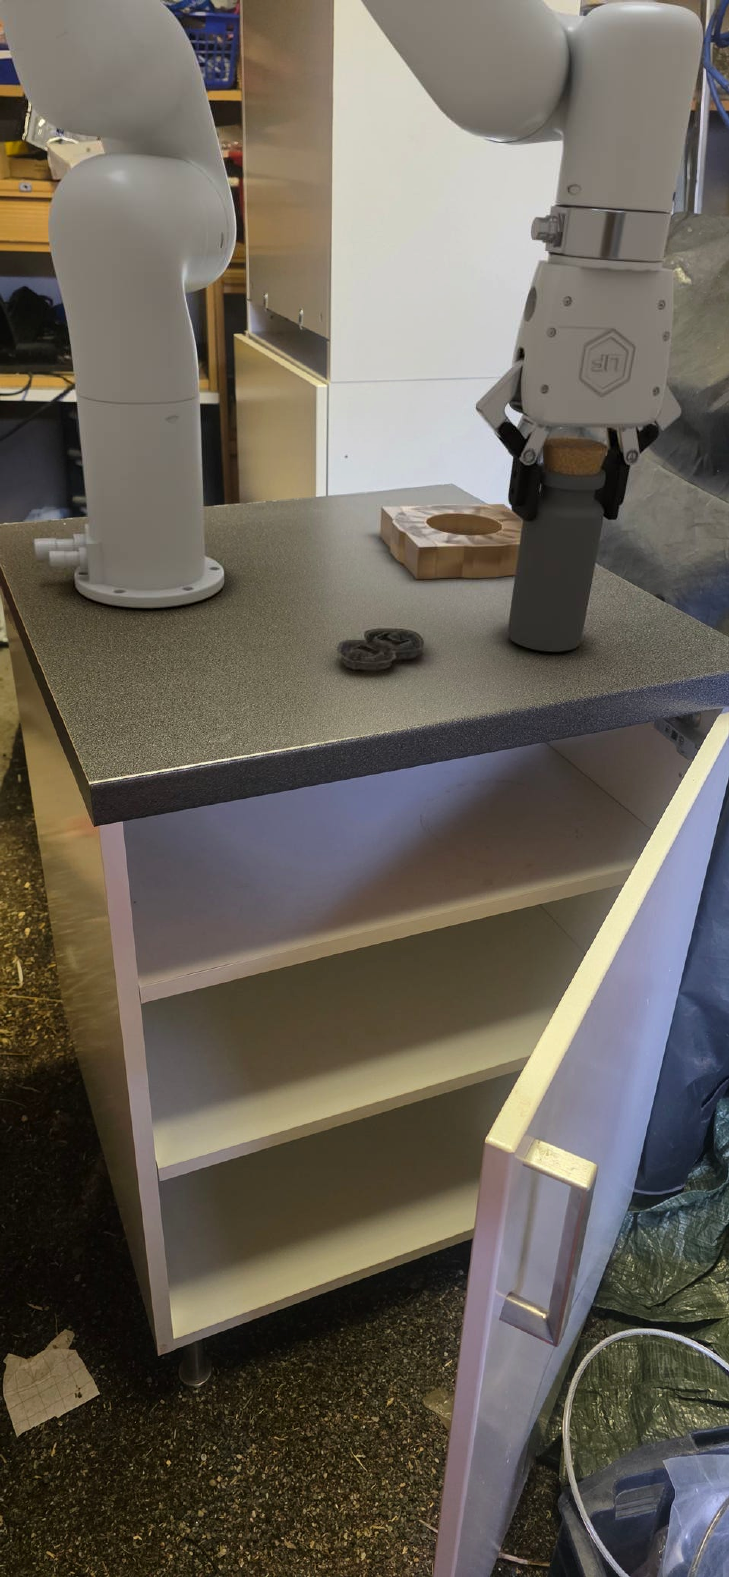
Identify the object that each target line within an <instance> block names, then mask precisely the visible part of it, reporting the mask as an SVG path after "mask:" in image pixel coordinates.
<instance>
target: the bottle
mask: <svg viewBox="0 0 729 1577" xmlns="http://www.w3.org/2000/svg"><path fill="white" fill-rule="evenodd" d="M607 450H608V447H607V444H606V443H605V444H604V443H603V442H601V441H598V440H595V439H590V438H585V437H584V438H583V437H578V436H577V437H576V436H548V437H547V439H546V441H545V443H544V445H543V447H542V449H541V451H542V452H541V453H542V462H540V463H539V462H538V464H539V465H540V466H541V467H542V478H541V485H540V491H539V498H538V505H537V512H536V518H535V519H533V521H524V520H523V523H522V530H521V537H520V544H519V551H518V559H517V566H516V573H515V575H514V579H513V580H514V581H513V586H512V596H511V602H510V610H509V618H508V626H507V635H508V637H509V639H510V640H511V641H512V642H514V643H515V644H517V645H519V646H522V647H524V648H526V649H531V650H536V651H541V652H550V653H552V652H553V653H554V652H555V653H557V652H558V653H559V652H566V651H571V650H574V649H576V648H578V647H579V646H580V644H581V642H582V637H583V632H584V629H585V628H584V627H585V623H586V617H587V612H588V608H589V603H590V602H589V601H590V597H591V596H590V595H591V589H592V584H593V579H594V574H595V568H596V562H597V557H598V551H599V546H600V539H601V534H602V529H603V522H604V517H603V516H604V508H603V506H602V505H601V504H600V503H599V502H598V501H597V500H596V499H594V494H595V490H597V489H600V488H602V487H603V486H604V483H605V477H606V473H605V471H604V470H602V469H600V468H601V466H602V463H603V461H604V458H605V455H607Z"/></svg>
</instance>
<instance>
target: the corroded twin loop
mask: <svg viewBox="0 0 729 1577" xmlns="http://www.w3.org/2000/svg"><path fill="white" fill-rule="evenodd" d="M424 645H425V641H424V638H423V637H422V636H421V635H420V633H418V632H416V631H413V630H411V629H406V628H398V627H397V628H394V627H393V628H390V627H389V628H388V627H379V628H372V629H367V630H365V631H364V633H363V639H345V640H342V641H340V642H338V644H337V647H336V652H337V654H339V655H340V656H341V661H342V663H343V664H344V665H345V666H346V667H347V668H349V669H351V670H366V671H367V670H368V671H369V670H385V669H388V668H391V665H392V661H393V660H406V659H408V660H409V659H414V658H416V657H418V655H419V654H420V652H421V650H422V649H423V648H424Z"/></svg>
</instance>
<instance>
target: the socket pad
mask: <svg viewBox="0 0 729 1577" xmlns="http://www.w3.org/2000/svg"><path fill="white" fill-rule="evenodd" d="M522 523H523V519H522V518H520V517H519V516H518V515H517V514H515V513H514V512H513V511H512V508H509V507H508V506H507V505H505V504H504V503H491V504H487V503H485V504H484V503H483V504H482V503H481V504H459V503H458V504H457V503H447V504H446V503H445V504H444V503H443V504H427V505H426V504H425V505H400V506H396V505H395V506H381V508H380V525H379V526H380V527H379V528H380V529H379V531H380V532H379V537H380V538H381V540H382V541H383V542H384V543H385V544H386V545H387V547H388V548H389V553H390V554H391V555H392V556H393V558H394V559H395V560H396V561H397V562H398V563H400V564H403V565H404V567H405V568H406V569H407V570H408V571H409V572H410V574H411V575H412V576H413V577H414V579H416V580H432V579H433V580H434V579H454V578H455V579H456V578H457V579H459V578H464V579H488V578H502V577H503V578H504V577H506V576H515V573H516V566H517V559H518V551H519V544H520V537H521V530H522Z"/></svg>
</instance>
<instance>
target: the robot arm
mask: <svg viewBox="0 0 729 1577" xmlns="http://www.w3.org/2000/svg"><path fill="white" fill-rule="evenodd" d="M360 1H361V3H362V4H363V6H364V8H365V9H366V11H367V12H368V14H369V15H370V16H371V18H372V19H373V21H374V22H375V24H376V25H377V26H378V27H379V30H381V32H382V33H383V34H384V36H385V37H386V39H387V40H388V41H389V43H390V45H391V46H392V47H393V48H394V50H395V51H396V52H397V54H398V55H399V56H400V58H401V60H402V61H403V63H404V64H405V65H406V66H407V67H408V69H409V70H410V72H411V73H412V75H413V76H414V77H415V79H416V80H417V82H418V83H419V84H420V85H421V87H422V88H423V90H424V91H425V92H426V94H427V95H428V96H429V98H430V99H431V100H432V102H433V103H434V104H435V105H436V106H437V108H438V109H439V110H440V112H441V113H442V114H443V115H444V116H445V117H446V118H447V119H448V120H449V121H450V122H451V123H452V124H453V125H454V126H456V127H457V128H458V129H460V130H461V131H462V132H465V133H466V134H468V135H471V136H473V137H476V138H479V139H483V140H485V141H489V142H492V143H494V144H499V145H505V146H521V145H533V144H539V143H540V144H541V143H549V142H561V148H560V149H561V150H560V156H559V165H558V172H557V178H556V186H555V194H554V202H553V203H554V204H555V205H551V206H550V211H549V214H546V215H545V216H535V217H534V218H533V219H532V221H531V226H530V237H531V240H533V241H539V242H542V243H543V244H545V247H544V251H545V252H547V254H546V260H545V259H543V260H542V259H541V260H540V259H539V260H537V263H536V266H535V269H534V271H533V274H532V277H531V281H530V284H529V286H528V290H527V293H526V297H525V301H524V304H523V308H522V311H521V316H520V321H519V325H518V328H517V334H516V339H515V344H514V349H513V355H512V361H511V365H510V368H508V370H507V371H506V372H505V373H504V374H503V375H502V376H501V377H500V378H499V379H498V380H497V381H496V382H495V383H494V384H493V385H492V387H490V388H489V389H488V390H487V391H486V393H484V394H483V395H482V396H481V398H479V399H478V401H477V402H476V403H475V411H476V412H477V413H478V415H479V416H480V417H481V418H482V420H483V421H484V422H485V423H486V424H487V426H488V427H489V428H490V429H491V430H492V432H493V433H494V435H495V436H496V437H497V439H498V440H499V441H500V443H501V444H502V445H503V447H505V449H506V450H507V452H508V454H509V455H510V456H511V457H512V463H511V471H510V478H509V485H508V494H507V502H508V504H509V505H510V506H511V507H510V509H511V510H512V511H513V512H514V513H515V514H517V515H518V516H519V517H520V518H522V519H523V520H524V521H533V519H535V518H536V512H537V505H538V498H539V492H540V488H541V478H542V467H541V466H540V465H539V463H538V460H539V459H538V458H539V455H540V453H541V451H542V447H543V445H544V443H545V441H546V439H547V438H549V435H550V433H551V432H552V429H553V428H595V429H596V428H598V429H599V428H600V429H601V428H602V429H604V435H605V442H606V446H607V447H608V450H607V453H606V455H605V458H604V461H603V463H602V466H601V468H600V469H602V470H604V471H605V473H606V477H605V483H604V486H603V487H602V488H600V489H597V490H595V494H594V499H596V500H597V501H598V502H599V503H600V504H601V505H602V506H603V508H604V516H603V518H605V519H606V520H608V521H616V520H617V519H618V517H619V511H620V506H621V505H622V504H623V503H624V500H625V497H626V496H625V495H626V490H627V485H628V480H629V475H630V469H631V466H633V465H635V464H637V462H639V460H640V456H641V454H642V453H643V452H644V451H646V449H647V448H649V446H651V445H652V444H653V443H654V442H655V441H656V440H657V439H658V437H659V434H660V433H661V432H662V433H663V432H664V431H665V430H667V428H669V427H670V426H671V425H672V424H673V423H674V422H675V421H677V419H679V417H680V416H681V415H682V408H681V405H680V404H679V402H678V401H677V399H676V397H675V396H674V394H673V392H672V390H671V389H670V387H669V386H668V383H667V377H668V370H669V364H670V363H669V361H670V354H671V345H672V336H673V322H674V270H673V269H669V268H663V261H664V257H665V250H666V245H667V240H668V235H669V229H670V225H671V219H672V212H673V208H674V204H675V198H676V193H677V186H678V183H679V182H678V180H679V176H680V171H681V165H682V159H683V155H684V149H685V144H686V138H687V133H688V128H689V122H690V117H691V111H692V106H693V100H694V95H695V90H696V85H697V80H698V74H699V68H700V63H701V58H702V51H703V45H704V30H703V25H702V21H701V19H700V17H699V16H698V15H697V13H696V12H694V11H693V10H690V9H688V8H686V7H685V6H682V5H681V6H680V5H675V4H669V3H665V2H663V3H662V2H656V1H619V2H610V3H604V4H601V5H599V6H596V7H595V8H593V9H592V10H590V11H589V12H588V13H587V14H586V15H577V14H571V13H564V12H560V11H556V10H553V9H552V8H550V7H549V5H548V4H547V3H546V1H544V0H360ZM0 24H1V28H2V31H3V34H4V38H5V41H6V44H7V47H8V50H9V54H10V57H11V60H12V63H13V67H14V69H15V72H16V75H17V79H18V81H19V85H20V86H21V89H22V92H23V94H24V96H25V97H26V99H27V100H28V103H30V105H31V107H32V108H33V110H34V111H35V112H36V113H37V115H38V116H40V117H41V119H43V120H44V121H45V122H47V123H48V124H50V125H51V126H53V127H54V128H56V129H59V130H62V131H64V132H68V133H70V134H75V135H80V136H84V137H85V136H87V137H93V138H94V137H95V138H99V139H100V143H101V145H102V148H103V153H99V154H96V155H93V156H90V157H88V158H85V159H83V160H82V161H80V162H78V163H76V164H75V165H74V166H72V167H71V168H70V169H69V170H68V171H67V172H66V173H65V175H63V177H62V178H61V179H60V181H59V182H58V184H57V186H56V188H55V189H54V192H53V194H52V198H51V201H50V205H49V210H48V220H47V233H48V234H47V235H48V244H49V249H50V254H51V259H52V264H53V269H54V271H55V276H56V280H57V283H58V284H57V285H58V288H59V291H60V295H61V300H62V303H63V308H64V312H65V318H66V323H67V328H68V335H69V343H70V351H71V359H72V367H73V379H74V380H73V381H74V388H75V390H74V391H75V394H76V408H77V418H78V428H79V438H80V448H81V459H82V471H83V472H82V473H83V481H84V493H85V494H84V495H85V503H86V504H85V505H86V515H87V523H85V524H84V533H73V534H72V537H73V538H58V539H57V538H56V537H50V538H49V537H45V538H44V537H43V538H41V537H40V538H34V539H33V541H34V542H33V543H34V554H35V560H36V562H37V563H43V562H49V567H50V569H62V568H67V567H68V568H69V567H77V568H76V569H75V570H74V575H73V578H74V584H75V588H76V590H77V592H78V593H80V594H81V595H82V596H84V597H85V598H87V599H89V600H92V601H94V602H97V603H101V604H106V605H109V606H115V607H120V608H121V607H122V608H133V609H162V608H163V609H164V608H171V607H178V606H183V605H184V606H185V605H190V604H193V603H197V602H200V601H203V600H205V599H208V598H210V597H212V596H214V595H215V594H217V593H218V592H219V591H220V590H221V589H222V588H223V587H224V584H225V570H224V567H223V566H222V565H221V564H220V563H219V562H218V561H216V560H214V559H213V558H211V557H209V556H207V555H206V541H205V538H206V536H205V511H204V508H205V507H204V483H203V480H204V478H203V456H202V455H203V454H202V452H203V450H202V425H201V397H200V396H201V395H200V374H199V371H200V370H199V359H198V358H199V357H198V350H197V345H196V344H197V343H196V339H195V333H194V328H193V323H192V319H191V316H190V311H189V307H188V303H187V296H186V294H190V293H193V292H197V291H200V290H202V289H205V288H207V287H209V286H210V285H212V284H213V283H215V282H216V281H217V280H219V278H220V277H221V276H222V275H223V274H224V272H225V271H226V269H227V268H228V266H229V264H230V262H231V260H232V257H233V254H234V251H235V247H236V241H237V218H236V211H235V204H234V199H233V194H232V190H231V186H230V182H229V178H228V173H227V169H226V166H225V161H224V158H223V154H222V150H221V146H220V142H219V138H218V134H217V128H216V125H215V120H214V117H213V114H212V110H211V105H210V102H209V98H208V93H207V90H206V85H205V81H204V76H203V74H202V70H201V67H200V64H199V60H198V58H197V55H196V53H195V50H194V47H193V45H192V43H191V40H190V38H189V37H188V36H187V33H186V31H185V29H184V28H183V26H182V25H181V22H180V21H179V20H178V18H177V17H176V16H175V14H174V13H173V12H172V11H171V10H170V9H169V8H168V7H167V6H166V5H165V4H164V3H163V2H162V1H160V0H0ZM507 405H509V407H510V408H511V409H512V410H513V411H515V412H516V413H518V414H522V415H521V417H520V419H519V421H518V424H517V426H516V425H515V424H514V423H513V422H512V421H511V420H510V417H508V416H507V414H506V412H505V411H506V407H507Z"/></svg>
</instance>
